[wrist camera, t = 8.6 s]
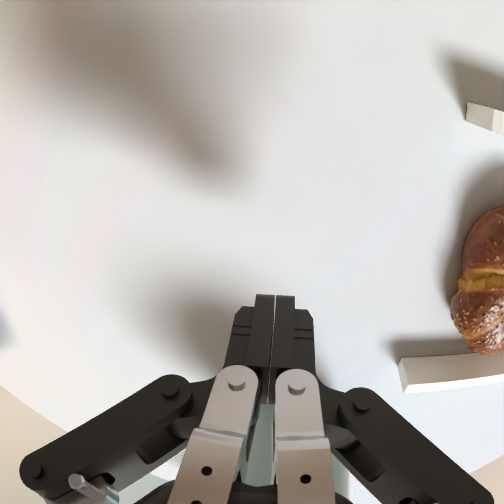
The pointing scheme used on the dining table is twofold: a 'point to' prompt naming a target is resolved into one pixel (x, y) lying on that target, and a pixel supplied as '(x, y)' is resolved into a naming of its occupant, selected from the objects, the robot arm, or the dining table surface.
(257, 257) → the dining table surface
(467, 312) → the pretzel
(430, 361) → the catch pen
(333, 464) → the cup
